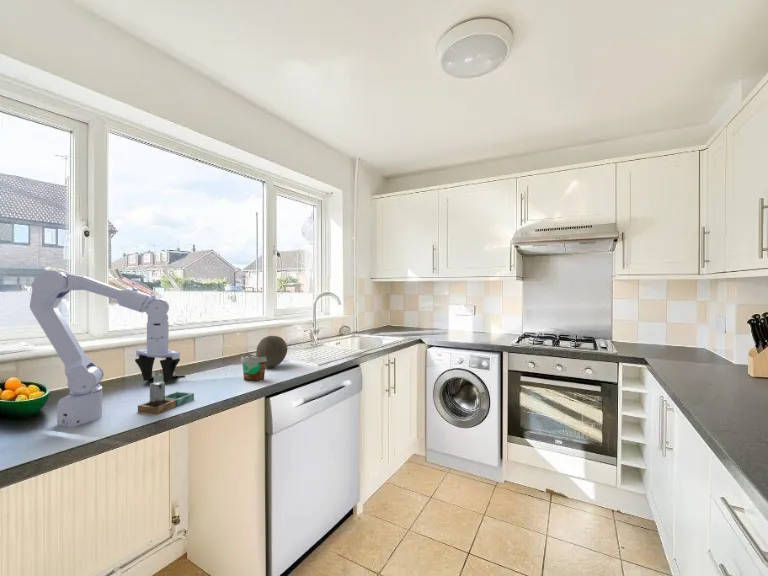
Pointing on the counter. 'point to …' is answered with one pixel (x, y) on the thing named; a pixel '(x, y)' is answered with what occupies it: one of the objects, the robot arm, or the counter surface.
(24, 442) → the counter surface
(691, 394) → the counter surface
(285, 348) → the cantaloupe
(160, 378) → the metal bracket
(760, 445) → the counter surface
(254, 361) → the food container
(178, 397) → the board
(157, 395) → the steel pin
